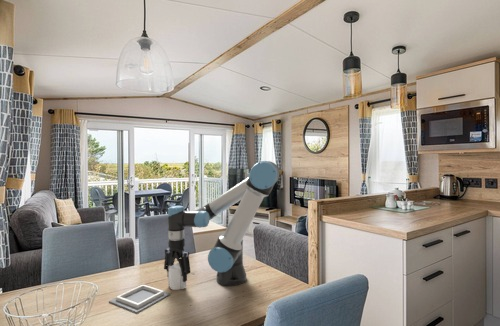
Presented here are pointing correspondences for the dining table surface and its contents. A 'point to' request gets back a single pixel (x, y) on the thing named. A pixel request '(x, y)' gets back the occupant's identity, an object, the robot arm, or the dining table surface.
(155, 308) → the dining table surface
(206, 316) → the dining table surface
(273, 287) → the dining table surface
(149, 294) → the holder
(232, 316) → the dining table surface
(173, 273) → the white cup
